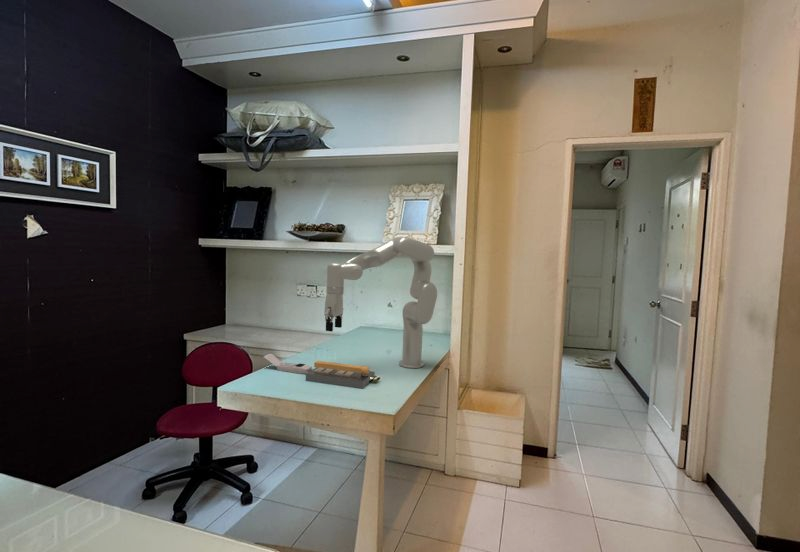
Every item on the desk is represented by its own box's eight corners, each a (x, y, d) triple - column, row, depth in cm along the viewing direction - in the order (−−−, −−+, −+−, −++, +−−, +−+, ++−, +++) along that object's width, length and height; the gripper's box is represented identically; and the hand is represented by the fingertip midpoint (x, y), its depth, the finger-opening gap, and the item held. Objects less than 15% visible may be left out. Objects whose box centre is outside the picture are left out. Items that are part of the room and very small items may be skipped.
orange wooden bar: (317, 365, 178) (317, 360, 178) (370, 372, 172) (370, 366, 172) (313, 367, 175) (313, 362, 175) (367, 374, 168) (367, 369, 168)
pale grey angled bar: (270, 353, 191) (316, 359, 183) (270, 365, 191) (316, 371, 183) (261, 356, 185) (309, 362, 177) (262, 368, 185) (309, 376, 178)
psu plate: (320, 371, 184) (321, 362, 184) (374, 378, 177) (374, 369, 177) (305, 380, 171) (305, 371, 170) (362, 388, 163) (363, 379, 163)
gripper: (335, 288, 189) (334, 325, 190) (318, 292, 172) (317, 331, 173) (350, 289, 187) (349, 326, 188) (334, 293, 170) (333, 333, 171)
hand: (333, 329), depth 180 cm, fingers open, 8 cm apart
